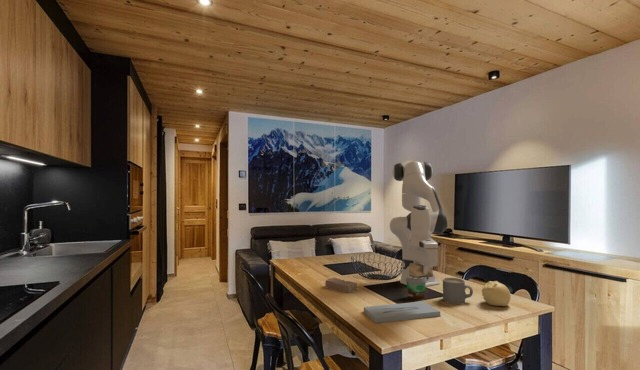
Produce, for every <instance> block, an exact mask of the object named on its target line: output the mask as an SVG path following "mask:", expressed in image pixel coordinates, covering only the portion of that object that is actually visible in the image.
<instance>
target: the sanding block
mask: <svg viewBox="0 0 640 370" xmlns="http://www.w3.org/2000/svg"><path fill="white" fill-rule="evenodd" d="M423 268H424V266H423V264H409V276H411V277H413V278H422V277H433V272H434V270H433V269H434V266H433V267H430V266H429V268H428V274H423V273H422V270H423Z"/></svg>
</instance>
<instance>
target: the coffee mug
mask: <svg viewBox="0 0 640 370" xmlns="http://www.w3.org/2000/svg"><path fill="white" fill-rule="evenodd" d="M466 289H468V290H469V293H466ZM473 294H474V290H473V287H472V286H471V285H469V284H466V282H465V279H462V278H457V277H444V278H442V300H443V302H446V303H448V304H453V305H462V304H465V303H466V299H468V298H471V297H472V296H473Z"/></svg>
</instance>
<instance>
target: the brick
mask: <svg viewBox="0 0 640 370" xmlns="http://www.w3.org/2000/svg"><path fill="white" fill-rule="evenodd" d="M324 283H325V288H327V289H329V290H335V291H337V292H342V293H347V294H351V293H353V292H356V291H357V290H358V289H357V288H358V287H357V286H358V284H357V282H355V281H351V280H345V279H341V278H338V277H330V278H328V279H326V280H325V282H324Z"/></svg>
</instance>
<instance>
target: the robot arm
mask: <svg viewBox="0 0 640 370" xmlns="http://www.w3.org/2000/svg"><path fill="white" fill-rule="evenodd" d="M433 171H434V170H433V166H432V164H431V163H430V162H428V161H427V162H426V161H424V162H422V161H417V160H414V161H413V160H412V161H409V162H402V163H401V162H399V163H395V164H394V165H393V168H392V171H391V172H392V176H393V178H394V180H395V181H396V182H397V181H398V182H402V184H401V206H402V208H403V209H404V210H406V211H408V212H410V213H408V214H407V215H405V216H396V217H393V218H391V220H390V222H389V230H390V231H391V233H392V234H393V235H395V236H396V237H397V238H398V240H399V241H400V244H401V248H402V250H401V251H402V258H401V268H402V269H401V278H400V279H399V280H400V281H399V282H400V284H403V285H404V286H407V282H406V277H407V278H413V277H411V276H409V264H423V266H424V268H423V270H422V273H423V274H428V268H429V266H430V267H433V268H434V267H437V266H438V263H439V252H438V248H439V243H438V242H437V241H436V240H434V238H432V233H433V234H442V233H444V232H445V231H446V230H447V229H448V223H449V222H448V219H447V215H446V213H445V211H444V209H443V207H442V204H441V202H440V199H439V196H438V194H437V191H436V189H435V187H434V186H433V185H431V184H430V183H429V182H428V181H429V180H431V178H432V176H433ZM422 199H424V200H426V201H428V203H429V204H430V207H429V206H427V205H424V204H422V203H423V201H422ZM430 208H431V210H432V211H430ZM426 278H427V282H426V284H425V287H429V286H437V285H440V283H441V282H440V281H439V280H438V279H436V275H435V273H434V271H433V277H426Z"/></svg>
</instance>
